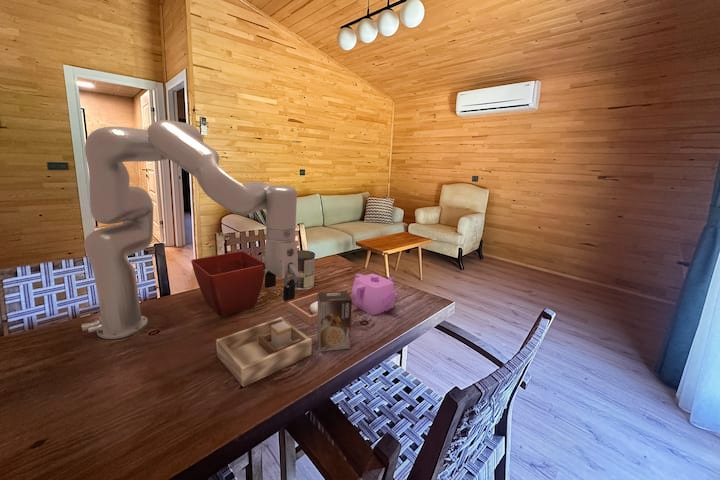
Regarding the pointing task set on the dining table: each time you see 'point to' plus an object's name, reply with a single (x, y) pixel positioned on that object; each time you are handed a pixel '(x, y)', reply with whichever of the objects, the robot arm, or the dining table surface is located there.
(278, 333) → the small white lidded box
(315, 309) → the garlic
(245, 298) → the plant pot
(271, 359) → the walled box
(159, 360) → the dining table surface
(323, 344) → the coffee box
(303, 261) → the coffee can
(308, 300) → the garlic dish
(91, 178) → the robot arm
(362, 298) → the teakettle
